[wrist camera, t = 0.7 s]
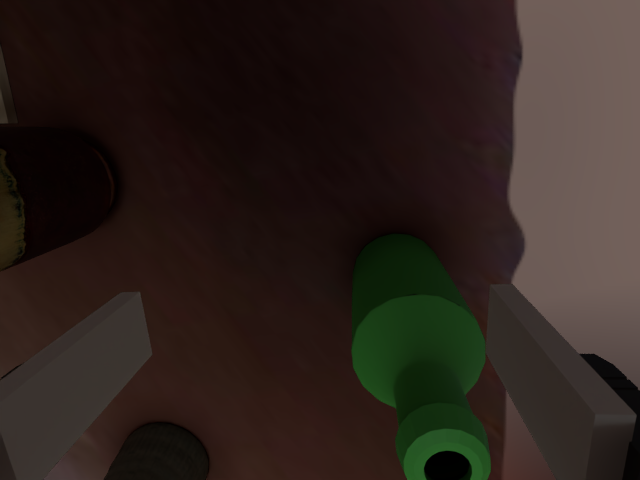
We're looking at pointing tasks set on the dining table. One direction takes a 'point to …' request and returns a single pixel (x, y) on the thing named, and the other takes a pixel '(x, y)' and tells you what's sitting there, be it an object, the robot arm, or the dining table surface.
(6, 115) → the plank
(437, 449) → the bottle
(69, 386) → the robot arm
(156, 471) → the lamp
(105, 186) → the vase
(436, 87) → the dining table surface
